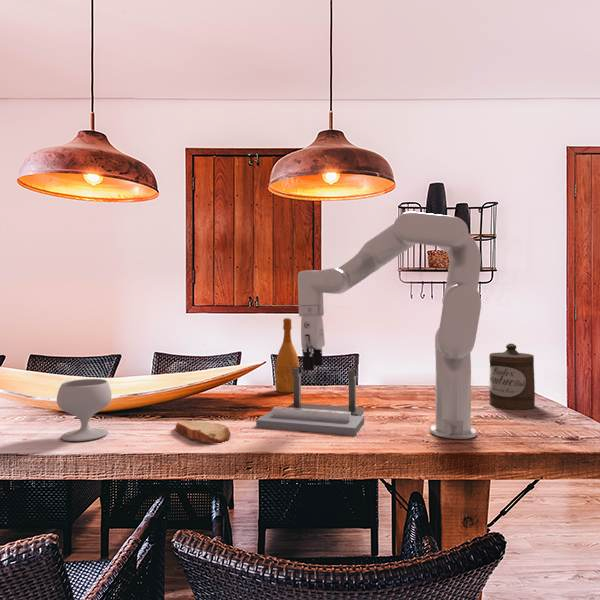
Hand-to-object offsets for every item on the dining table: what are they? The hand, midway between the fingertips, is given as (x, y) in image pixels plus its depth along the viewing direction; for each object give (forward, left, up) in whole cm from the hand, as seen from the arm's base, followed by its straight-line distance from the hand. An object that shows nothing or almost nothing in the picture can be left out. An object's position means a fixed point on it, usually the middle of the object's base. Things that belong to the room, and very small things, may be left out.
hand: (313, 367), depth 147 cm
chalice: (-30, +58, -18) cm, 67 cm away
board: (0, +1, -17) cm, 17 cm away
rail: (0, +1, -15) cm, 15 cm away
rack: (+16, +1, -17) cm, 24 cm away
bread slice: (-19, +27, -18) cm, 38 cm away
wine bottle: (+48, +25, -18) cm, 57 cm away
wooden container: (+47, -60, -18) cm, 78 cm away
